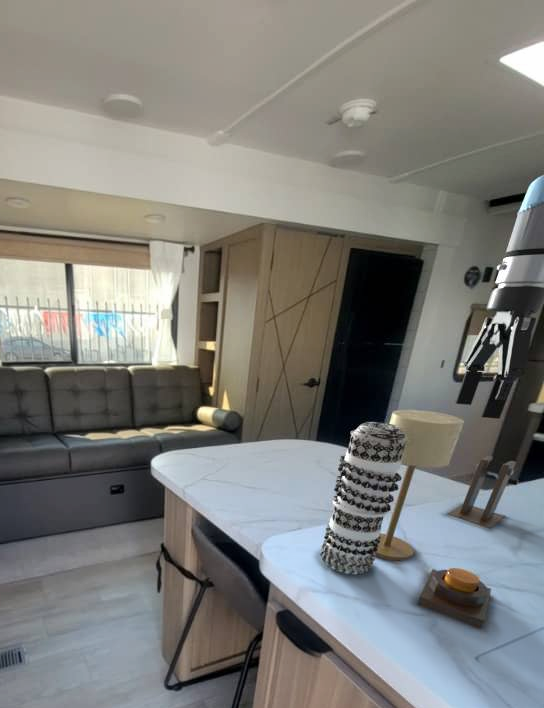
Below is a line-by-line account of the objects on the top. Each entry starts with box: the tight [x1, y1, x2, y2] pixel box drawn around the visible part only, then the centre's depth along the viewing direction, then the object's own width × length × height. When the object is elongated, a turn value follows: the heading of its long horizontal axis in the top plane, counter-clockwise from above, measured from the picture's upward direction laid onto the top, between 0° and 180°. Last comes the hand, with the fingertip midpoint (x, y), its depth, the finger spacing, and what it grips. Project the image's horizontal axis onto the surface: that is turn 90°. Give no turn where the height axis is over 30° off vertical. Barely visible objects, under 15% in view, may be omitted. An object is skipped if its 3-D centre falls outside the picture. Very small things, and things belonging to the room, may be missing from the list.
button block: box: [416, 568, 492, 630], centre depth 62 cm, size 10×8×4 cm
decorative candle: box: [319, 421, 409, 575], centre depth 66 cm, size 9×9×25 cm
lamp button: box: [444, 567, 481, 592], centre depth 61 cm, size 4×4×2 cm
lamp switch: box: [484, 459, 520, 486], centre depth 88 cm, size 12×6×2 cm, turn 128°
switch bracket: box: [446, 455, 517, 529], centre depth 87 cm, size 10×8×14 cm
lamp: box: [374, 409, 465, 562], centre depth 71 cm, size 10×10×26 cm
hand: (475, 410), depth 79 cm, fingers open, 13 cm apart
